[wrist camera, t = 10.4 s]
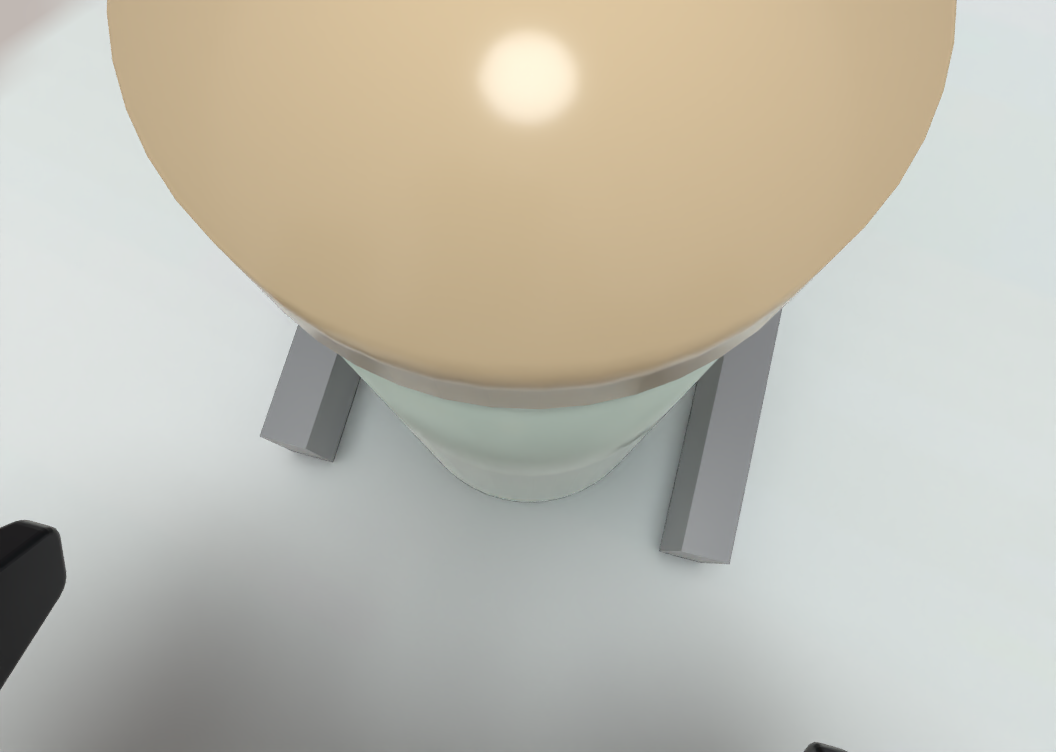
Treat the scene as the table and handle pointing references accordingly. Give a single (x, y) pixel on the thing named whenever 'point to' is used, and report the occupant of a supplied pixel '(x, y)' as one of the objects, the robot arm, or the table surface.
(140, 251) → the table surface
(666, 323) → the jar
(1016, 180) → the table surface
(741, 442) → the grey bracket
